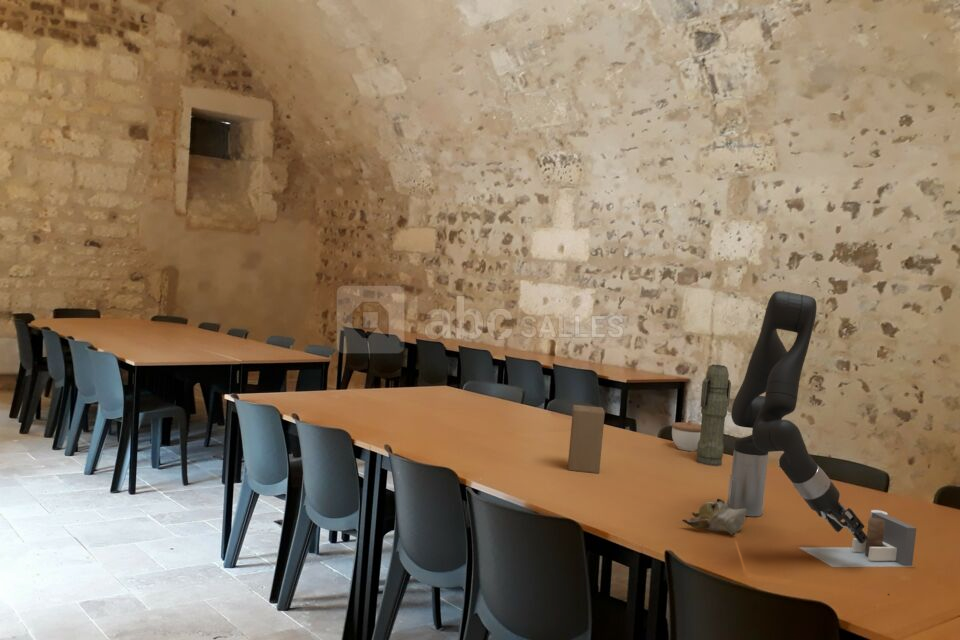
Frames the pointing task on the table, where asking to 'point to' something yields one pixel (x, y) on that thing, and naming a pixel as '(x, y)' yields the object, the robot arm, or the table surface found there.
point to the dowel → (874, 534)
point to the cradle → (876, 551)
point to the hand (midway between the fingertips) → (851, 534)
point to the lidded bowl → (686, 435)
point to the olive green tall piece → (713, 415)
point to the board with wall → (845, 557)
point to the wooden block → (586, 439)
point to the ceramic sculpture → (718, 517)
